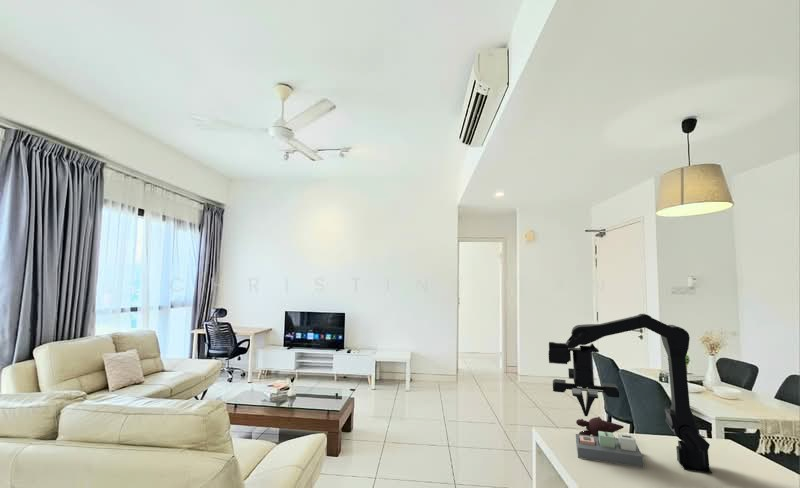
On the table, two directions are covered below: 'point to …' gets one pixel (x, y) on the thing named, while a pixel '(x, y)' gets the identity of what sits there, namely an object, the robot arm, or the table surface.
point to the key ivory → (627, 442)
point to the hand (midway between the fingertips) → (586, 415)
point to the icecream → (597, 426)
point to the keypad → (608, 453)
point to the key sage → (606, 439)
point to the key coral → (587, 440)
